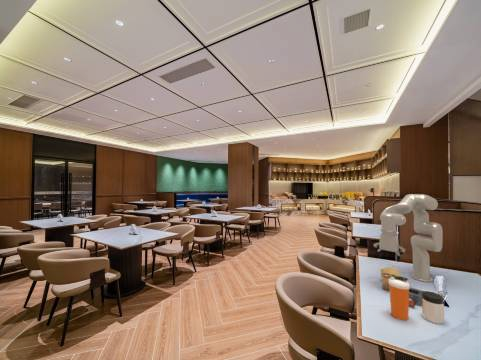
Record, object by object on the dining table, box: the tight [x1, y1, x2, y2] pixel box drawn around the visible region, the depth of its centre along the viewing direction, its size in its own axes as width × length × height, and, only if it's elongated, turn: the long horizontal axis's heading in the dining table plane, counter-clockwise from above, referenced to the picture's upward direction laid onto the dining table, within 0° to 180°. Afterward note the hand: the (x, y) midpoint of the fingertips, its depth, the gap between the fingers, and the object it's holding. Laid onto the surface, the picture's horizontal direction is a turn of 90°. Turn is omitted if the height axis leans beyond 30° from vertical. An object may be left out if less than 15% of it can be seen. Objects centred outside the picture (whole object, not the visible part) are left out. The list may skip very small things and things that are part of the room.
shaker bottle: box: [388, 274, 411, 321], centre depth 108 cm, size 9×9×20 cm
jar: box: [421, 290, 445, 325], centre depth 106 cm, size 9×8×12 cm
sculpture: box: [380, 266, 403, 279], centre depth 146 cm, size 11×12×11 cm
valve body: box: [409, 286, 424, 309], centre depth 122 cm, size 17×11×6 cm, turn 133°
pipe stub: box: [381, 273, 391, 292], centre depth 137 cm, size 5×5×10 cm
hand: (388, 259), depth 135 cm, fingers open, 9 cm apart
